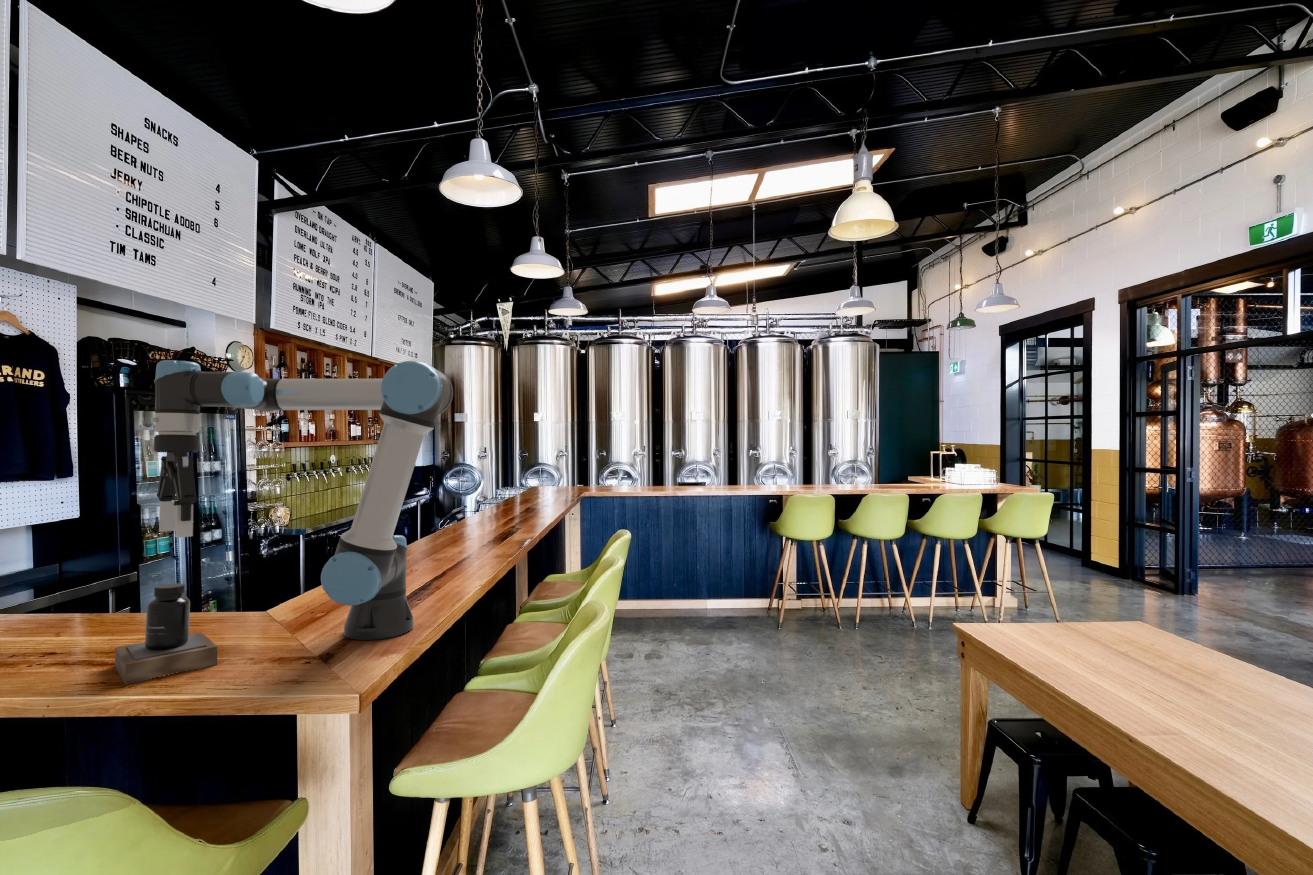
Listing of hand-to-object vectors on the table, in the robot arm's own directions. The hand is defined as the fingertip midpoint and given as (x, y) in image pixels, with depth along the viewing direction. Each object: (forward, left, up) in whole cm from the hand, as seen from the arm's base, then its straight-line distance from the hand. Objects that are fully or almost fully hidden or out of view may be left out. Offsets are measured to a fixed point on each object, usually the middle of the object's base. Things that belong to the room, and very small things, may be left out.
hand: (175, 534), depth 127 cm
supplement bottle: (+2, +7, -22) cm, 23 cm away
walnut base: (+2, +7, -26) cm, 26 cm away
